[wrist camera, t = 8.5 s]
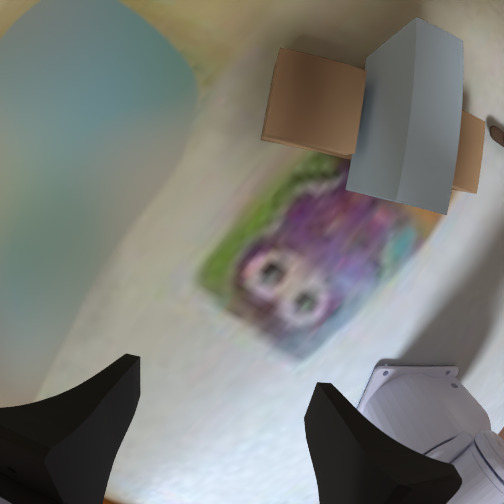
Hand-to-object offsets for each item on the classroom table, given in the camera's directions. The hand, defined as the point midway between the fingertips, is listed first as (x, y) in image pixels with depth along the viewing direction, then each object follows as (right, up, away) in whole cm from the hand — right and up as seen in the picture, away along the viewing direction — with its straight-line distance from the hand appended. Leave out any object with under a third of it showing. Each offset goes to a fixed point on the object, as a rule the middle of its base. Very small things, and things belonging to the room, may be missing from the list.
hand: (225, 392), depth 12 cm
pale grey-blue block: (+9, +13, +6) cm, 17 cm away
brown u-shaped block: (+9, +14, +7) cm, 18 cm away
